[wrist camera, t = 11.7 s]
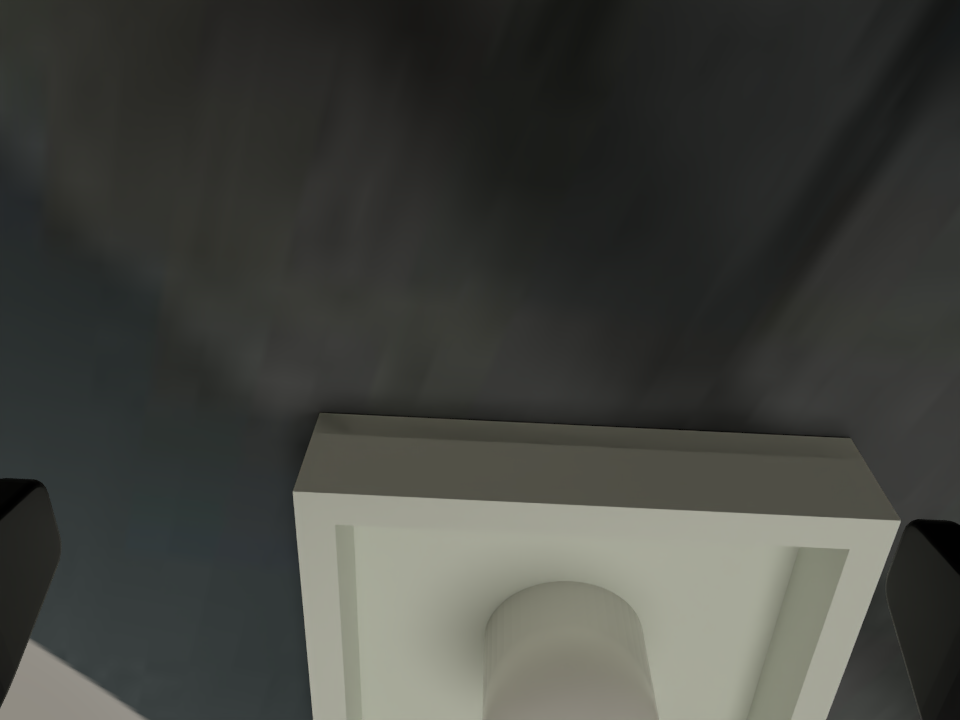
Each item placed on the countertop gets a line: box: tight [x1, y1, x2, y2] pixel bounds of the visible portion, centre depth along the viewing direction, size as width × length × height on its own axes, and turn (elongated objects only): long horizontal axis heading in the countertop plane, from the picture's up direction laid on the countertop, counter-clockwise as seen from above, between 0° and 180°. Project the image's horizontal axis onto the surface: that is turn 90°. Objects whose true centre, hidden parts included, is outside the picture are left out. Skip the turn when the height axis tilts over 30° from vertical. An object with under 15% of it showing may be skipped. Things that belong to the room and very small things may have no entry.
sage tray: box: [293, 413, 901, 720], centre depth 26 cm, size 15×15×4 cm
